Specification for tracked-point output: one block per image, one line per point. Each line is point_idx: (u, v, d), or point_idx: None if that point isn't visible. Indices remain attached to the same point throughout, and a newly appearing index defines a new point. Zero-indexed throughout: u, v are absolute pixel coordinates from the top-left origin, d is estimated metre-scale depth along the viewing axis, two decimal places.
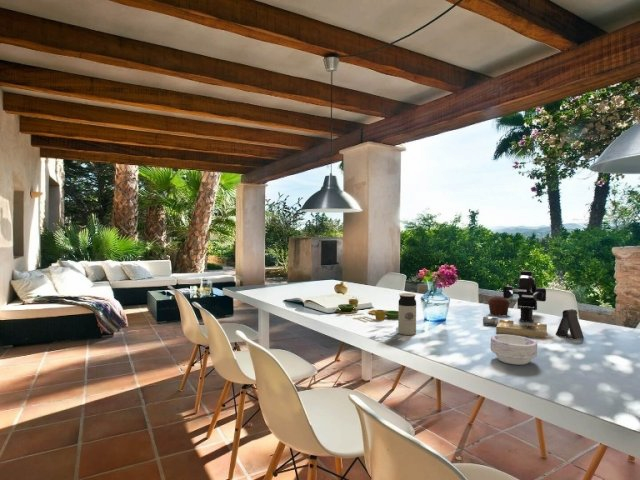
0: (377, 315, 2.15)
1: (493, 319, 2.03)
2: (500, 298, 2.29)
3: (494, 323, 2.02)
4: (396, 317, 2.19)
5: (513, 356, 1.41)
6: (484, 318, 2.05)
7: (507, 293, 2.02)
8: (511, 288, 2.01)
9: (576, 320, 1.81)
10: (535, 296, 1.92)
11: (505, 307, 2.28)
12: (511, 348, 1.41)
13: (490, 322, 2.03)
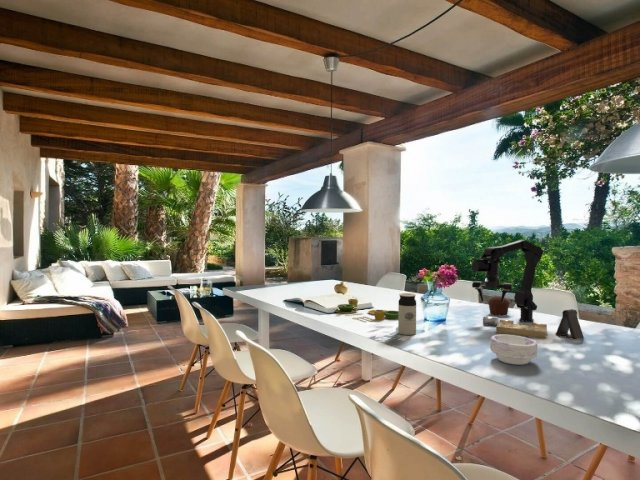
0: (376, 315, 2.15)
1: (493, 319, 2.03)
2: (500, 298, 2.29)
3: (494, 323, 2.02)
4: (395, 317, 2.18)
5: (513, 356, 1.41)
6: (484, 318, 2.05)
7: None
8: (480, 290, 2.11)
9: (576, 320, 1.81)
10: None
11: (505, 307, 2.28)
12: (511, 348, 1.41)
13: (490, 322, 2.03)
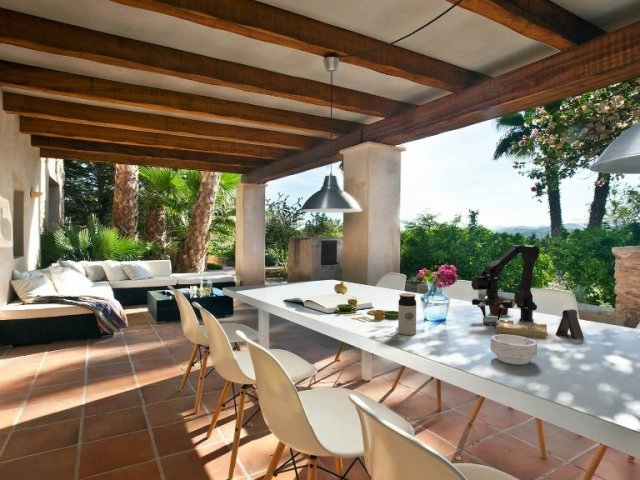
0: (376, 315, 2.15)
1: (493, 319, 2.03)
2: (500, 298, 2.29)
3: (494, 323, 2.02)
4: (395, 317, 2.18)
5: (513, 356, 1.41)
6: (484, 318, 2.05)
7: None
8: (482, 307, 2.10)
9: (576, 320, 1.81)
10: (499, 317, 2.08)
11: None
12: (511, 348, 1.41)
13: (490, 322, 2.03)
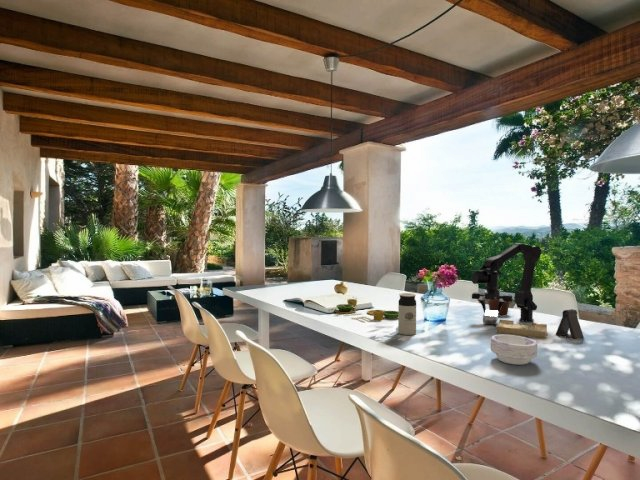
0: (375, 315, 2.15)
1: (493, 318, 2.03)
2: None
3: (494, 322, 2.02)
4: (394, 317, 2.18)
5: (513, 356, 1.41)
6: (484, 317, 2.05)
7: None
8: (482, 301, 2.10)
9: (576, 320, 1.81)
10: (499, 311, 2.08)
11: (505, 307, 2.28)
12: (511, 348, 1.41)
13: (490, 321, 2.03)
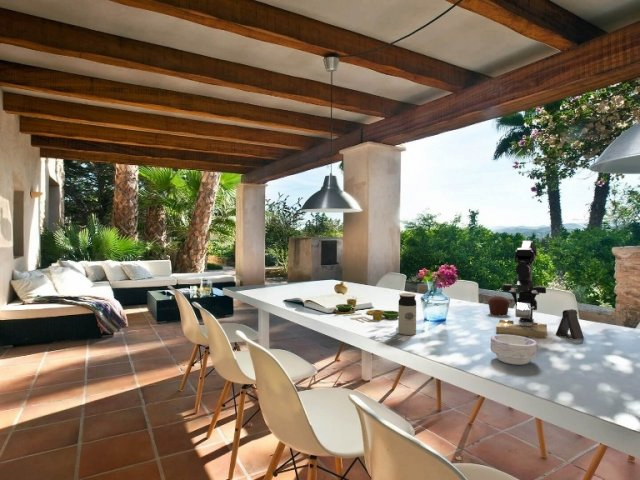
0: (374, 315, 2.15)
1: (526, 313, 1.92)
2: (500, 298, 2.29)
3: (528, 317, 1.92)
4: (393, 317, 2.18)
5: (513, 356, 1.41)
6: (516, 312, 1.94)
7: None
8: (514, 293, 1.99)
9: (576, 320, 1.81)
10: (532, 303, 1.97)
11: (505, 307, 2.28)
12: (511, 348, 1.41)
13: (523, 316, 1.92)
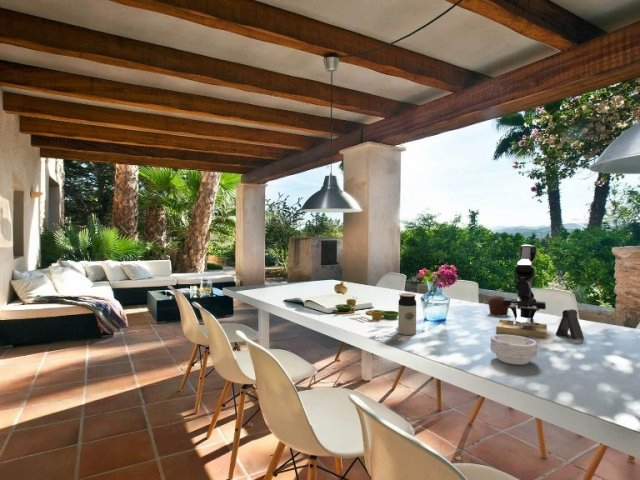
0: (374, 315, 2.15)
1: (526, 324, 1.92)
2: (500, 298, 2.29)
3: None
4: (393, 317, 2.18)
5: (513, 356, 1.41)
6: (516, 323, 1.94)
7: None
8: (514, 309, 1.99)
9: (576, 320, 1.81)
10: (532, 319, 1.97)
11: (505, 307, 2.28)
12: (511, 348, 1.41)
13: None
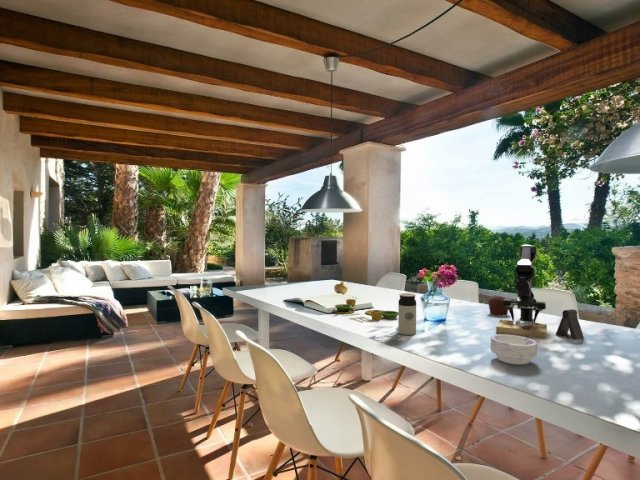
0: (373, 315, 2.15)
1: (526, 324, 1.92)
2: (500, 298, 2.29)
3: None
4: (392, 317, 2.18)
5: (513, 356, 1.41)
6: (517, 323, 1.95)
7: None
8: (510, 308, 2.00)
9: (576, 320, 1.81)
10: (535, 319, 1.96)
11: None
12: (511, 348, 1.41)
13: None
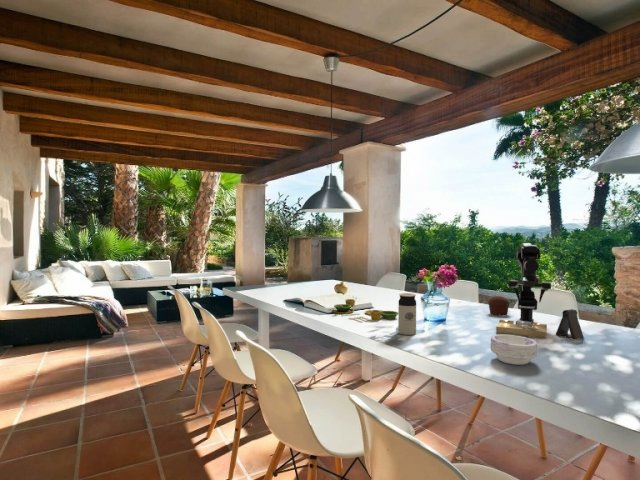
0: (372, 315, 2.15)
1: (526, 324, 1.92)
2: (500, 298, 2.29)
3: None
4: (392, 317, 2.18)
5: (513, 356, 1.41)
6: (517, 323, 1.95)
7: None
8: (516, 289, 2.04)
9: (576, 320, 1.81)
10: None
11: (505, 307, 2.28)
12: (511, 348, 1.41)
13: None
